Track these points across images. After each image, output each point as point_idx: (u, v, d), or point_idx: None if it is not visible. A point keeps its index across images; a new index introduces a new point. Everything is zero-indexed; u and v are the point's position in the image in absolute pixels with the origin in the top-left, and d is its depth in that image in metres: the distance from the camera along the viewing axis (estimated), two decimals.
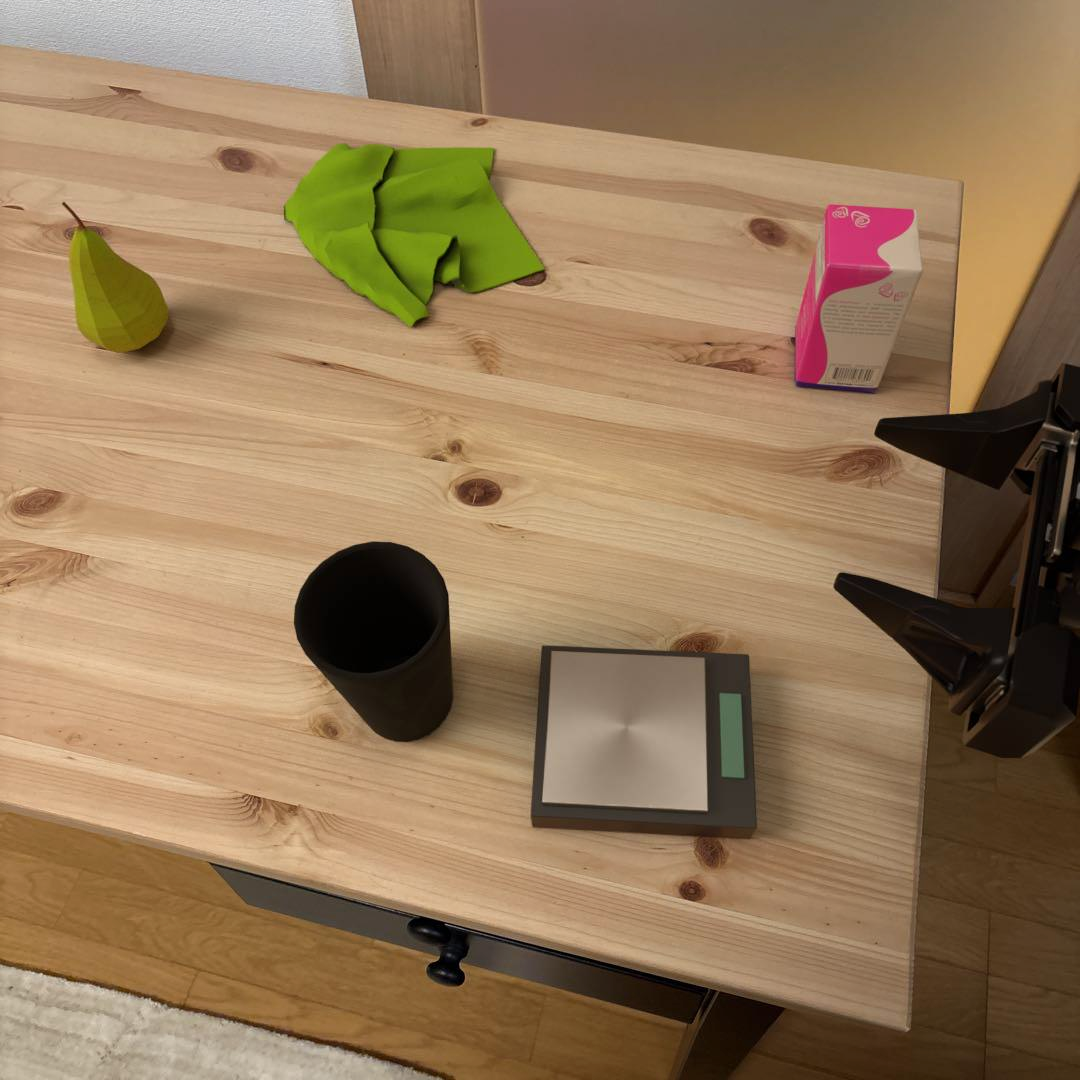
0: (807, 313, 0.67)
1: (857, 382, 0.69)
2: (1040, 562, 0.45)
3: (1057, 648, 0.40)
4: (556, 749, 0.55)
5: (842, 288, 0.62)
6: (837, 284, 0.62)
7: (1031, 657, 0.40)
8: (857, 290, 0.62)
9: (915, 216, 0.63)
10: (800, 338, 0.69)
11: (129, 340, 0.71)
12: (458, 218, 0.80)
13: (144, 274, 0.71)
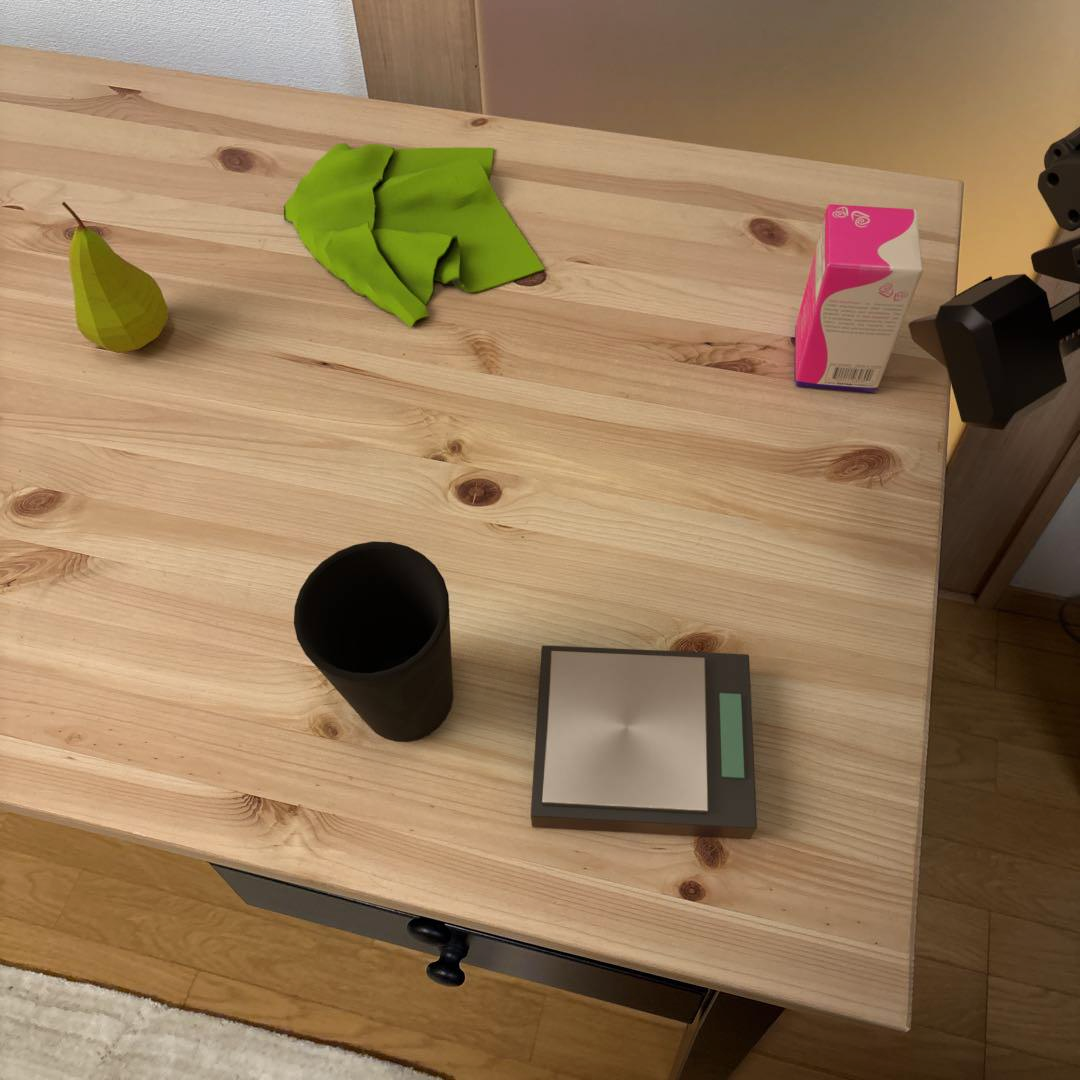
0: (807, 313, 0.67)
1: (857, 382, 0.69)
2: None
3: (1000, 283, 0.45)
4: (556, 749, 0.55)
5: (842, 288, 0.62)
6: (837, 284, 0.62)
7: (972, 291, 0.46)
8: (857, 290, 0.62)
9: (915, 216, 0.63)
10: (800, 338, 0.69)
11: (129, 340, 0.71)
12: (458, 218, 0.80)
13: (144, 274, 0.71)
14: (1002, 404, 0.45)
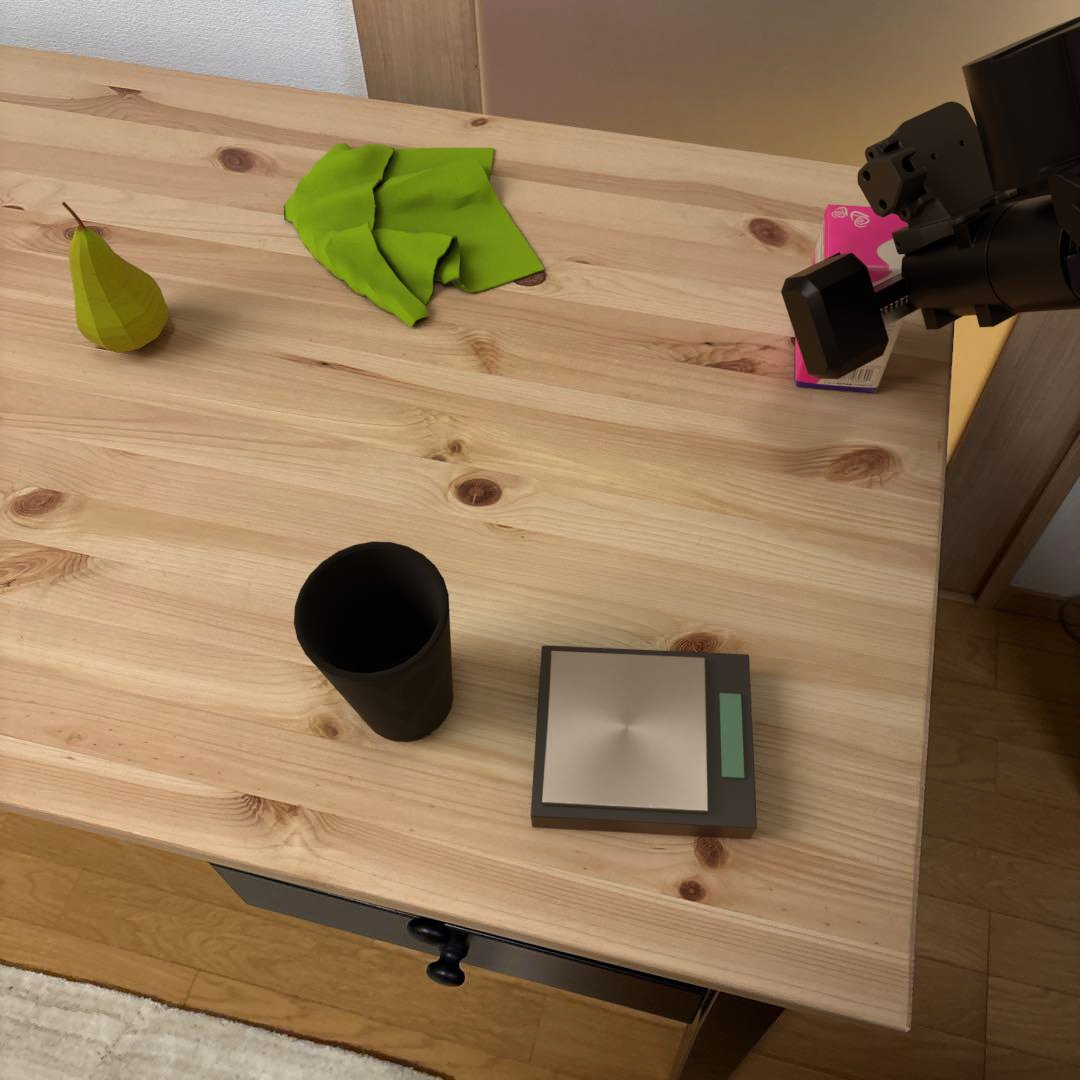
0: None
1: (857, 382, 0.69)
2: None
3: (832, 260, 0.56)
4: (556, 749, 0.55)
5: None
6: None
7: (811, 267, 0.57)
8: None
9: None
10: None
11: (129, 340, 0.71)
12: (458, 218, 0.80)
13: (144, 274, 0.71)
14: (833, 357, 0.56)
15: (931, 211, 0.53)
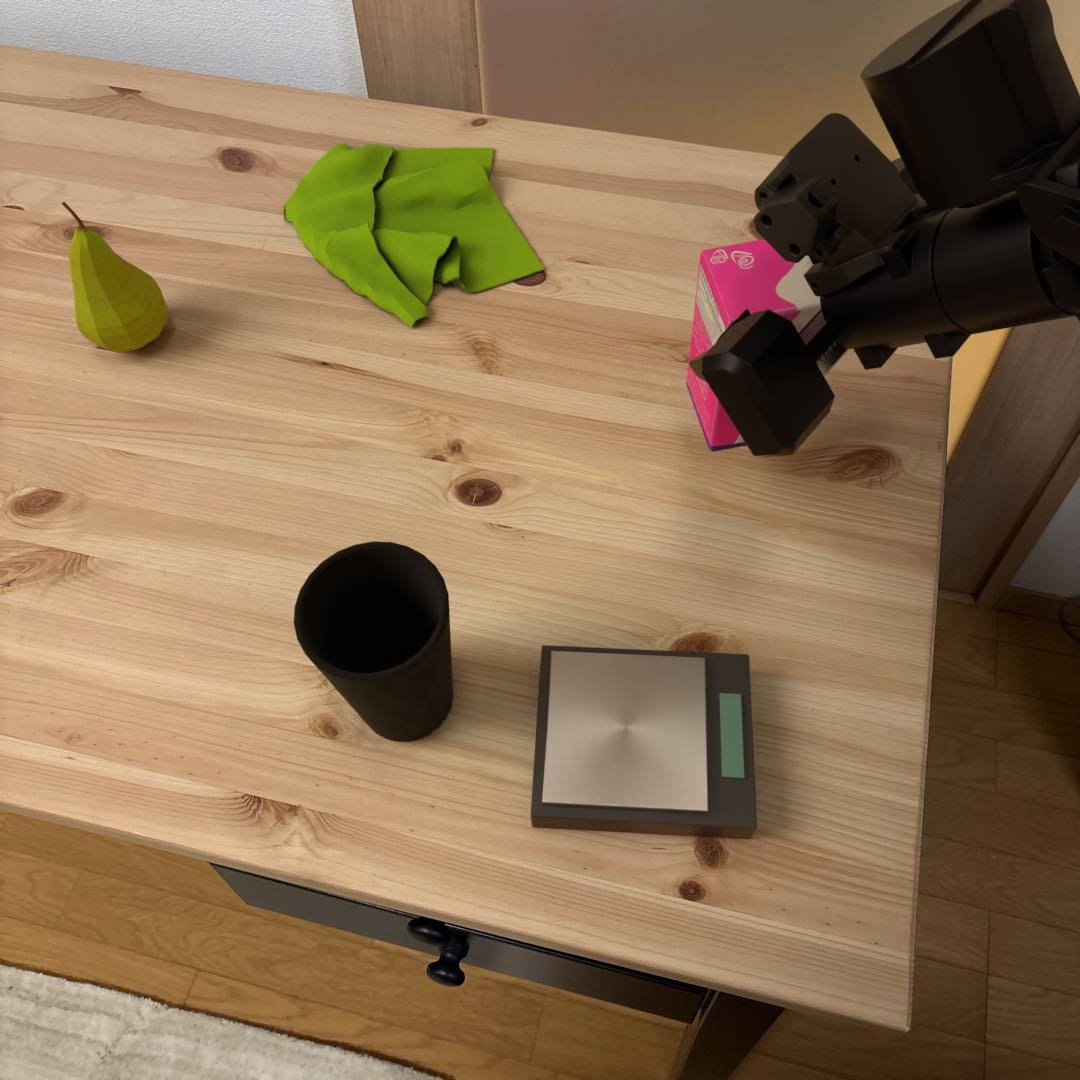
0: None
1: None
2: None
3: (749, 323, 0.47)
4: (556, 749, 0.55)
5: None
6: None
7: (727, 336, 0.48)
8: None
9: None
10: (702, 399, 0.60)
11: (129, 340, 0.71)
12: (458, 218, 0.80)
13: (144, 274, 0.71)
14: (784, 434, 0.47)
15: (849, 243, 0.45)
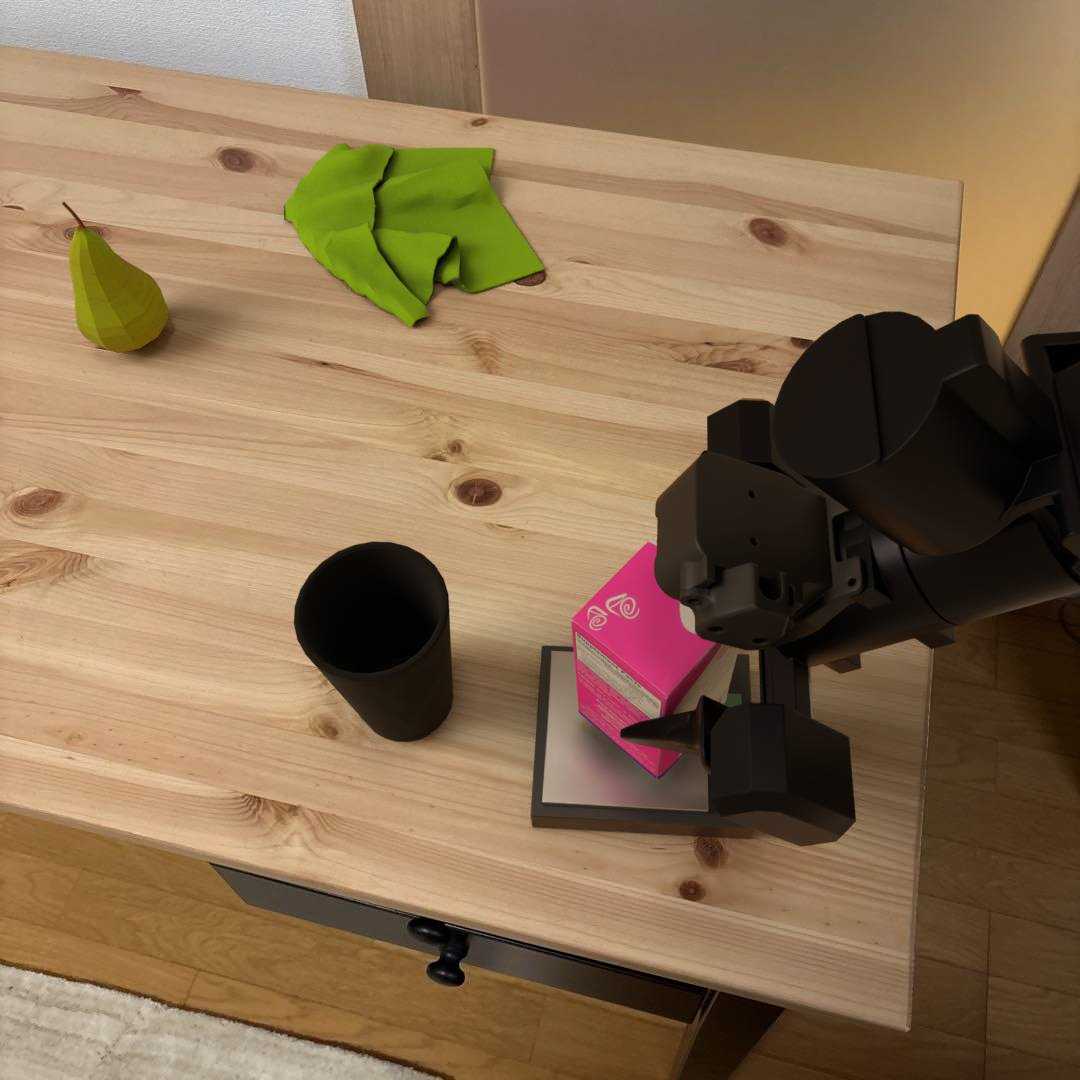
0: (627, 721, 0.48)
1: None
2: None
3: (739, 731, 0.37)
4: (556, 749, 0.55)
5: (685, 694, 0.44)
6: (680, 697, 0.43)
7: (720, 755, 0.37)
8: (698, 680, 0.44)
9: None
10: None
11: (129, 340, 0.71)
12: (458, 218, 0.80)
13: (144, 274, 0.71)
14: (841, 825, 0.38)
15: (803, 596, 0.36)
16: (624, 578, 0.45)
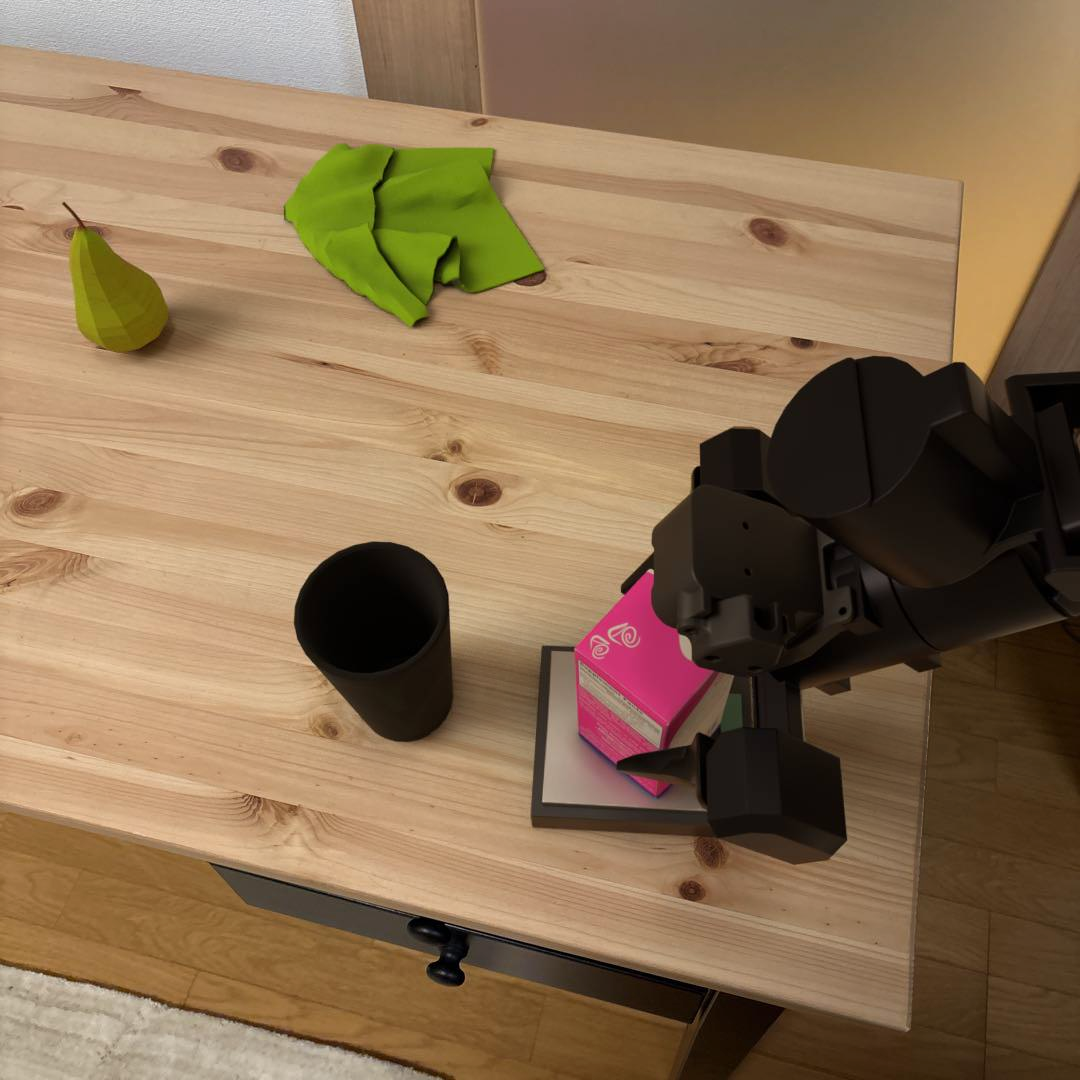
0: (627, 744, 0.49)
1: None
2: None
3: (734, 755, 0.38)
4: (556, 749, 0.55)
5: (685, 720, 0.45)
6: (680, 723, 0.45)
7: (716, 778, 0.38)
8: (697, 706, 0.46)
9: None
10: None
11: (129, 340, 0.71)
12: (458, 218, 0.80)
13: (144, 274, 0.71)
14: (833, 845, 0.39)
15: (796, 624, 0.38)
16: (625, 608, 0.46)
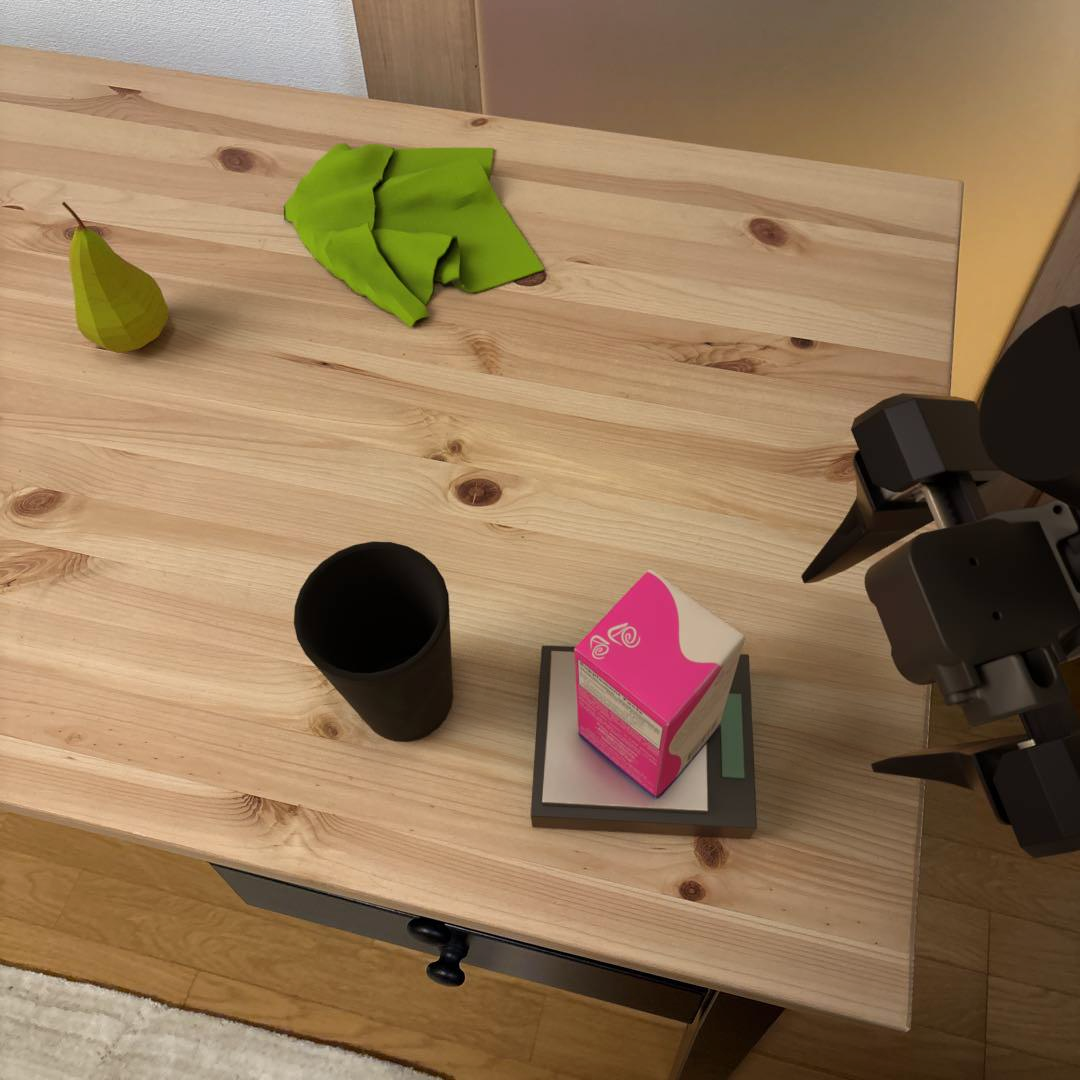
0: (627, 744, 0.49)
1: (706, 738, 0.54)
2: None
3: (1027, 778, 0.37)
4: (556, 749, 0.55)
5: (684, 720, 0.45)
6: (680, 723, 0.45)
7: (1014, 803, 0.37)
8: (697, 706, 0.46)
9: (661, 578, 0.47)
10: (625, 759, 0.52)
11: (129, 340, 0.71)
12: (458, 218, 0.80)
13: (144, 274, 0.71)
14: None
15: None
16: (625, 608, 0.46)
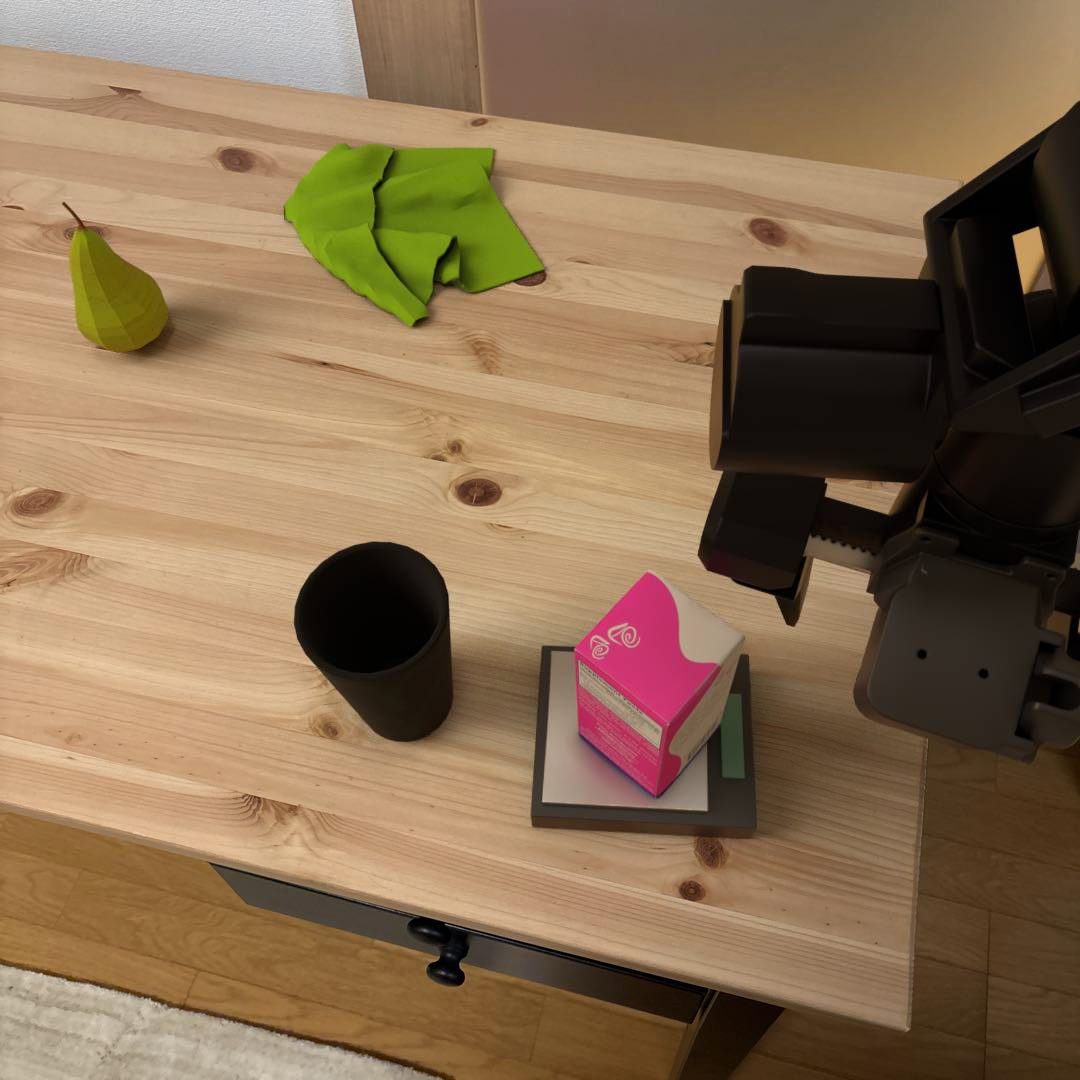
0: (627, 744, 0.49)
1: (706, 738, 0.54)
2: None
3: None
4: (556, 749, 0.55)
5: (685, 720, 0.45)
6: (680, 723, 0.45)
7: None
8: (697, 706, 0.46)
9: (661, 578, 0.47)
10: (625, 759, 0.52)
11: (129, 340, 0.71)
12: (458, 218, 0.80)
13: (144, 274, 0.71)
14: None
15: (1037, 616, 0.33)
16: (625, 608, 0.46)
